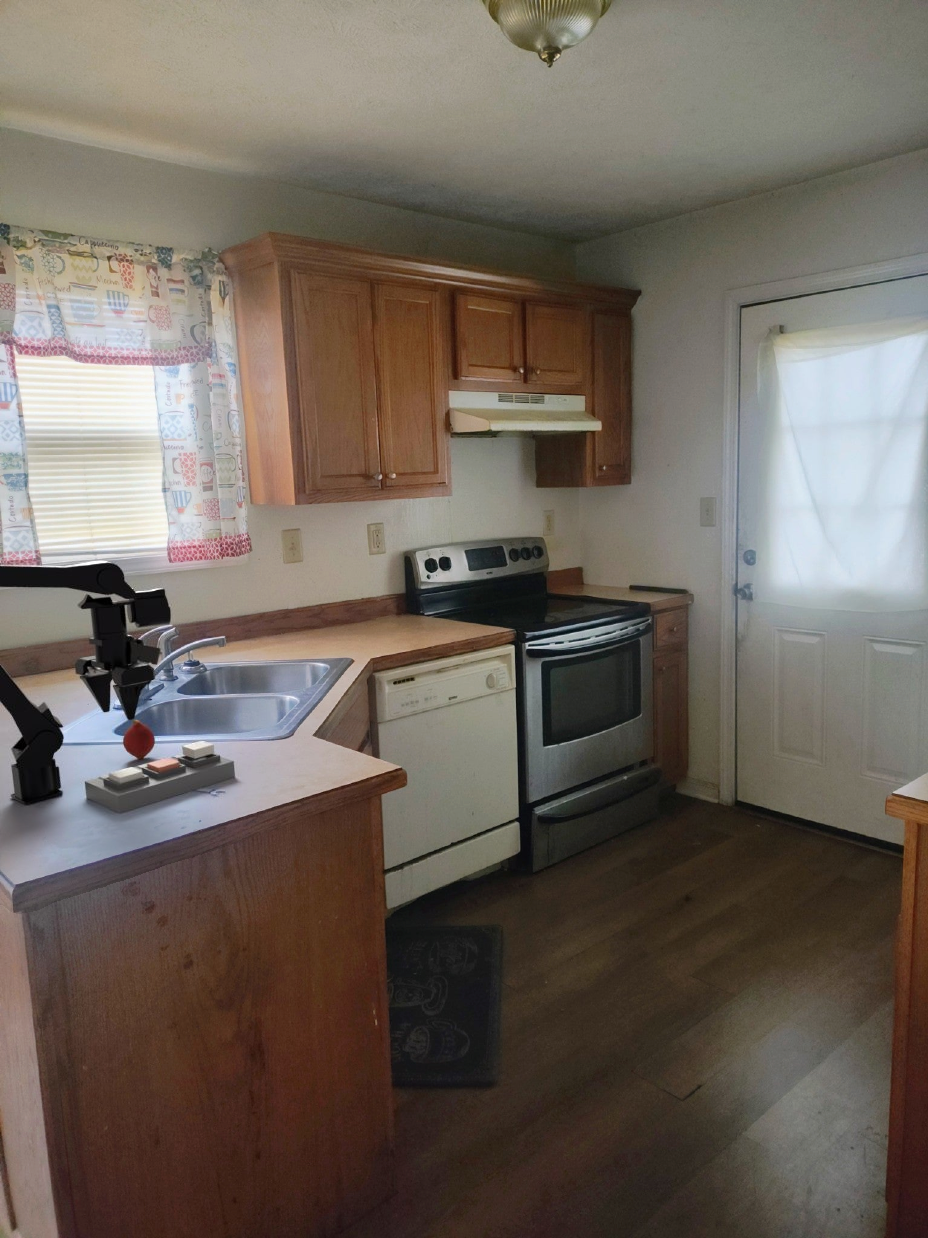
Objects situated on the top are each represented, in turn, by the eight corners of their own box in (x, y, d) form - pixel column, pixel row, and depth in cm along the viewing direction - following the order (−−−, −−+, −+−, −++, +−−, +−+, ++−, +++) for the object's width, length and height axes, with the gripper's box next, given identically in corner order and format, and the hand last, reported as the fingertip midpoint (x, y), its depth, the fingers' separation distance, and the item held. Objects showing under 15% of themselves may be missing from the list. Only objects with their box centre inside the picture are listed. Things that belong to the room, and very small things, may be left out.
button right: (194, 758, 154) (194, 750, 154) (182, 754, 157) (182, 746, 156) (214, 753, 157) (213, 744, 157) (202, 749, 160) (201, 740, 159)
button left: (120, 787, 144) (119, 777, 144) (109, 782, 147) (108, 773, 146) (143, 780, 147) (142, 771, 147) (131, 775, 150) (130, 767, 149)
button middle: (159, 776, 149) (158, 767, 149) (147, 772, 152) (146, 763, 152) (180, 770, 152) (179, 761, 152) (168, 766, 155) (167, 757, 154)
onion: (146, 752, 174) (142, 714, 173) (162, 757, 170) (158, 718, 169) (119, 760, 170) (115, 721, 168) (135, 765, 166) (131, 725, 165)
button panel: (120, 813, 141) (117, 790, 140) (86, 797, 149) (84, 775, 148) (235, 776, 157) (233, 755, 157) (199, 764, 165) (197, 744, 164)
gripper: (178, 628, 154) (185, 713, 156) (127, 620, 166) (134, 699, 168) (118, 638, 146) (127, 727, 148) (69, 629, 158) (78, 711, 160)
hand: (118, 715), depth 156 cm, fingers open, 9 cm apart
